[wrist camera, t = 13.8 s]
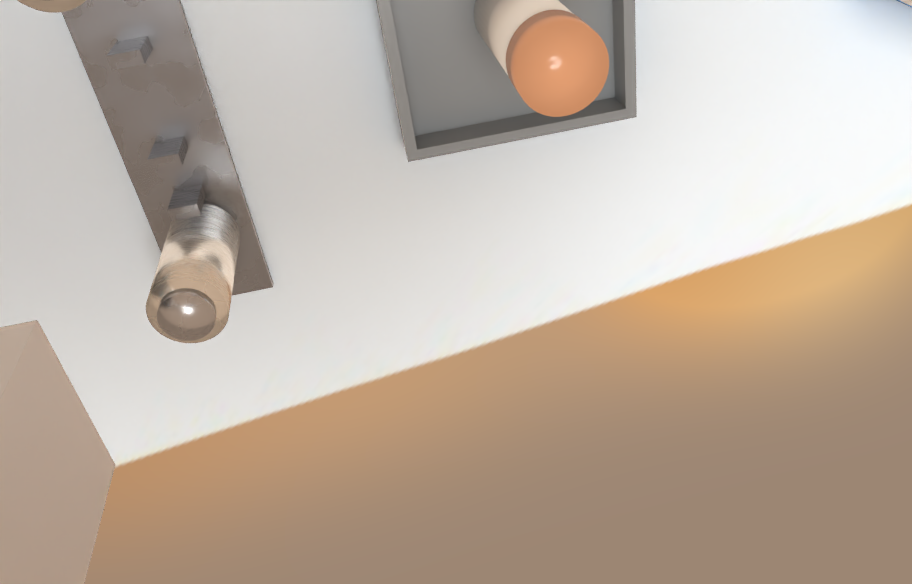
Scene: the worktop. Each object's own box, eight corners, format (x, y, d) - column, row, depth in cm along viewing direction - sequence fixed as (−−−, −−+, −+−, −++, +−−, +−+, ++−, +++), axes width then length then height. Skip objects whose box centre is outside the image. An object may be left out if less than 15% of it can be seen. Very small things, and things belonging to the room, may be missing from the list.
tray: (403, 144, 46) (408, 161, 44) (356, -102, 39) (359, -94, 37) (622, 101, 47) (636, 116, 45) (616, -149, 39) (632, -144, 37)
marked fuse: (478, 57, 43) (521, 125, 35) (467, -21, 41) (510, 33, 33) (551, 41, 44) (611, 105, 35) (544, -37, 41) (606, 12, 33)
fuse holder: (184, 301, 50) (161, 396, 42) (-14, -176, 35) (-100, -159, 28) (272, 283, 50) (266, 374, 43) (114, -198, 35) (62, -187, 28)
